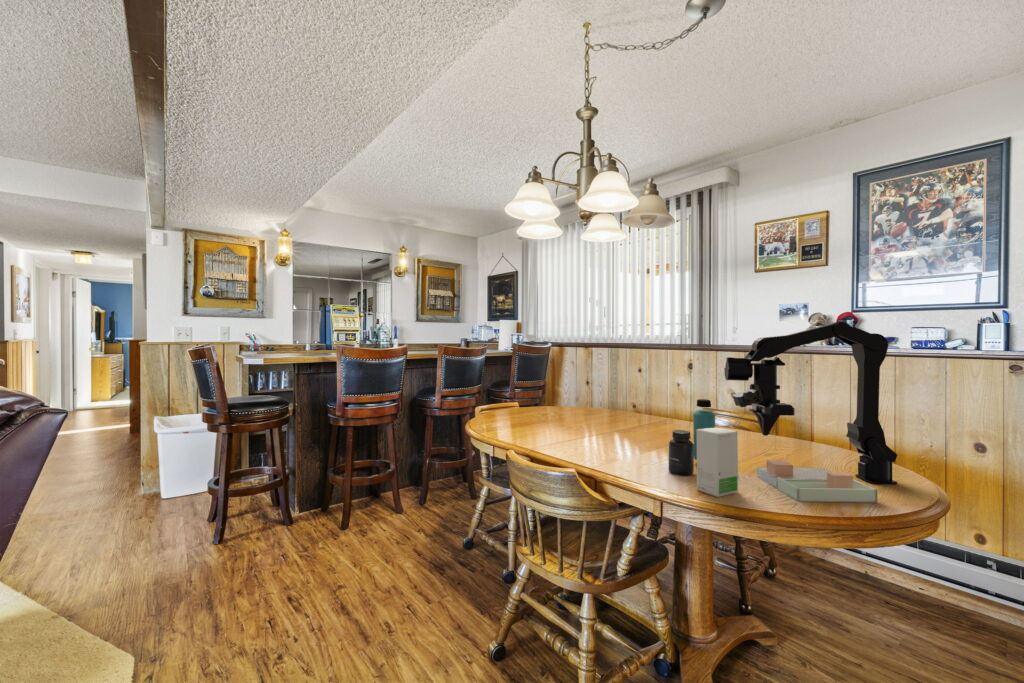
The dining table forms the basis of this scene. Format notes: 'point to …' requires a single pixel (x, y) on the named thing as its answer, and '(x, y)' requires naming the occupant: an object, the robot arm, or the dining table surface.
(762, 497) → the dining table surface
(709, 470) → the skincare box
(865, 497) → the tray
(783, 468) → the tile
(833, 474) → the tile
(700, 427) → the beverage bottle
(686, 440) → the supplement bottle
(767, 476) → the plate
